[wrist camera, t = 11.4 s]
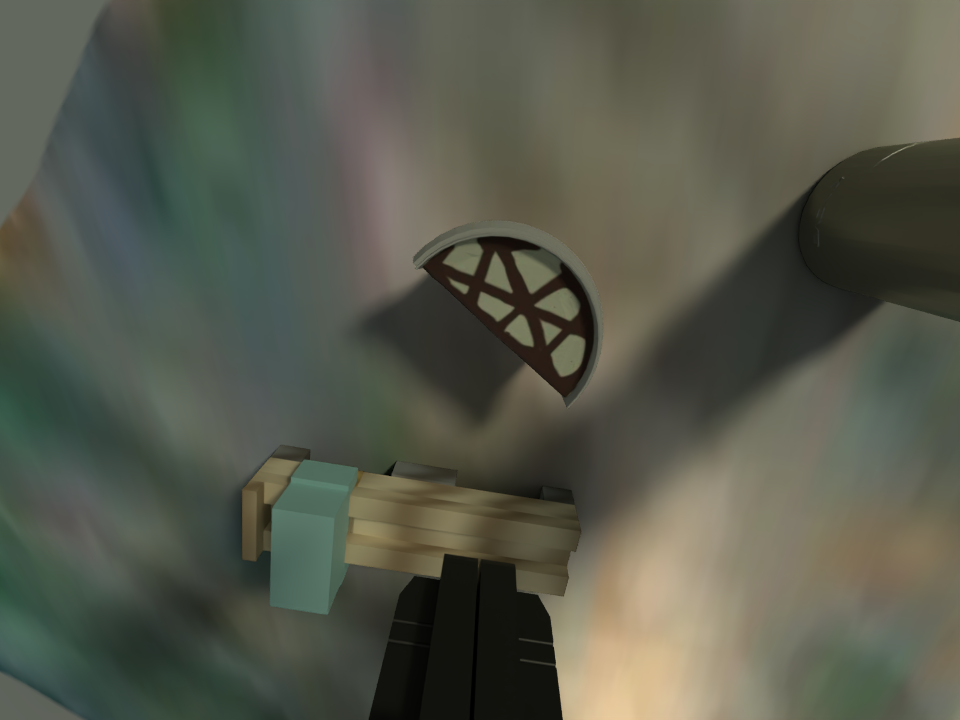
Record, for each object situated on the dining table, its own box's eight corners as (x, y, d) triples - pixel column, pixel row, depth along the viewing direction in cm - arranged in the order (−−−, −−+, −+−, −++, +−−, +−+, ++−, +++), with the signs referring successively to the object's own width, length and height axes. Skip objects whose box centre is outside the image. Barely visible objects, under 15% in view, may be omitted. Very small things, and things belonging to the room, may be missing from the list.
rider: (358, 467, 36) (335, 512, 31) (349, 563, 39) (327, 619, 34) (304, 459, 36) (272, 503, 31) (299, 555, 39) (269, 610, 34)
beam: (571, 488, 41) (584, 540, 34) (555, 551, 43) (565, 611, 37) (280, 442, 40) (242, 487, 34) (279, 508, 42) (242, 561, 36)
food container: (617, 299, 35) (660, 338, 26) (555, 358, 37) (574, 415, 28) (492, 174, 33) (490, 166, 24) (431, 242, 35) (406, 261, 25)
